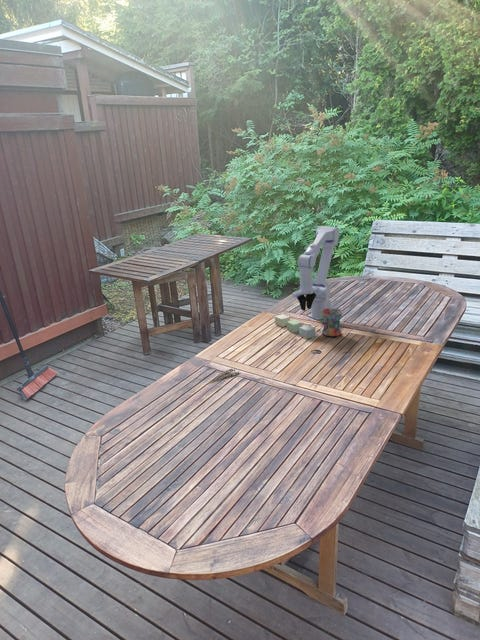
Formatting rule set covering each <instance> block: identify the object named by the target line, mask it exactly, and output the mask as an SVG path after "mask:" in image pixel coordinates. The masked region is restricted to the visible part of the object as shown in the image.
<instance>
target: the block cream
mask: <svg viewBox="0 0 480 640" xmlns="http://www.w3.org/2000/svg"><path fill="white" fill-rule="evenodd" d="M287 321H291V317H290V316H289V315H286V314H284V313H282V314H279V315H275V316H274V324H275V325H277V326H279V327H281V328H282V327H287Z"/></svg>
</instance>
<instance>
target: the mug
mask: <svg viewBox="0 0 480 640" xmlns="http://www.w3.org/2000/svg"><path fill="white" fill-rule="evenodd" d="M321 313H322V315H323V328H322V330H321V333H322V334H323V335H324V336H326V337H337V336H340V335H341V334H342V331H341V328H340V323H341V322H340V321H341V318H342V316H343V313H344V311H343V310H341V309H339V308H334V307H331V308H328V309H324V310H322V311H321Z"/></svg>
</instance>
